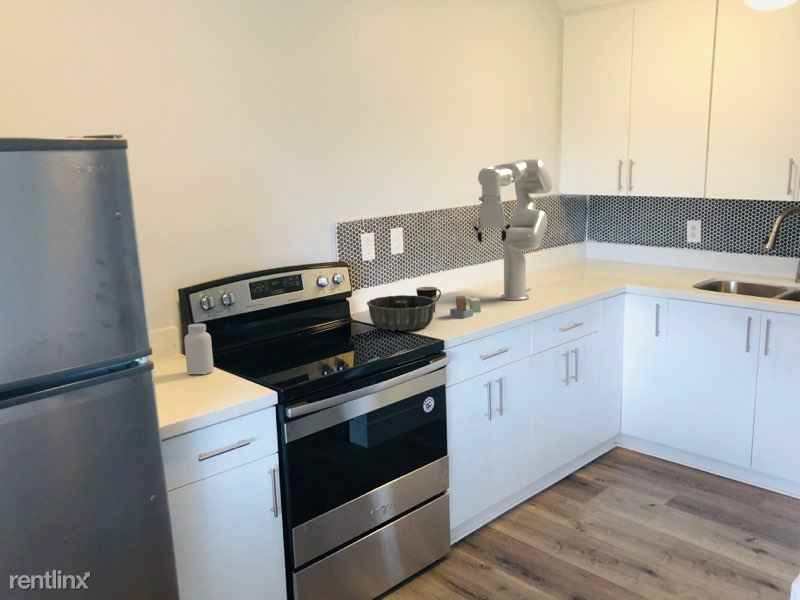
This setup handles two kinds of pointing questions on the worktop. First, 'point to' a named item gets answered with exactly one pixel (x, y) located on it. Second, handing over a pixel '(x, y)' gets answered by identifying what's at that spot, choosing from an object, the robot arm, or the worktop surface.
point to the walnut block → (461, 303)
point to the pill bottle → (198, 350)
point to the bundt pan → (401, 312)
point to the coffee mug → (428, 293)
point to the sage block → (475, 304)
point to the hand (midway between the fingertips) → (491, 241)
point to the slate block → (461, 313)
